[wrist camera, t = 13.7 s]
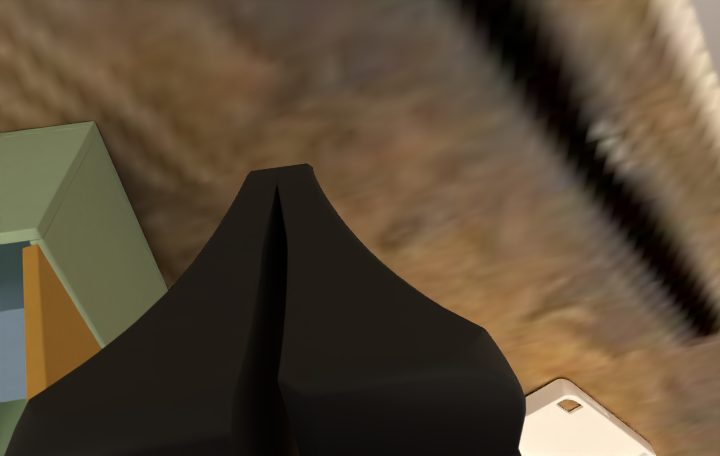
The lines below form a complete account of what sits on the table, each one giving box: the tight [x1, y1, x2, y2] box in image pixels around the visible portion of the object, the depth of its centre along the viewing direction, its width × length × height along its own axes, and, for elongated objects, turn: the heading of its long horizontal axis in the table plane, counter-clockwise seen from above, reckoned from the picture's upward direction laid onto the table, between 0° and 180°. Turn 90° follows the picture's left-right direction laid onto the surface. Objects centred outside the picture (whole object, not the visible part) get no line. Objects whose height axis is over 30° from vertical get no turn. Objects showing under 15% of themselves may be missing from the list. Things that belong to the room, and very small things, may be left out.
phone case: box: [519, 379, 656, 456], centre depth 39 cm, size 7×1×15 cm
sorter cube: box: [0, 240, 31, 402], centre depth 21 cm, size 5×5×5 cm
